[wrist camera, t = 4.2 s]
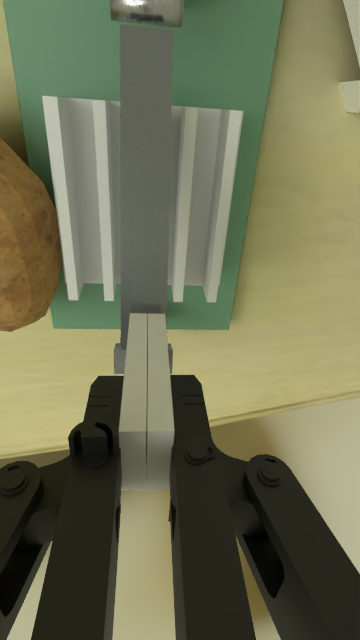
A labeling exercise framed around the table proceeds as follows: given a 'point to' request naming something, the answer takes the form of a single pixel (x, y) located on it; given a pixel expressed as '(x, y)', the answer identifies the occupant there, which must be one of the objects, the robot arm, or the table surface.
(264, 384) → the table surface
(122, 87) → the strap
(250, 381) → the table surface
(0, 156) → the potato
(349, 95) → the paper towel holder
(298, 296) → the table surface
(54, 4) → the heatsink board
